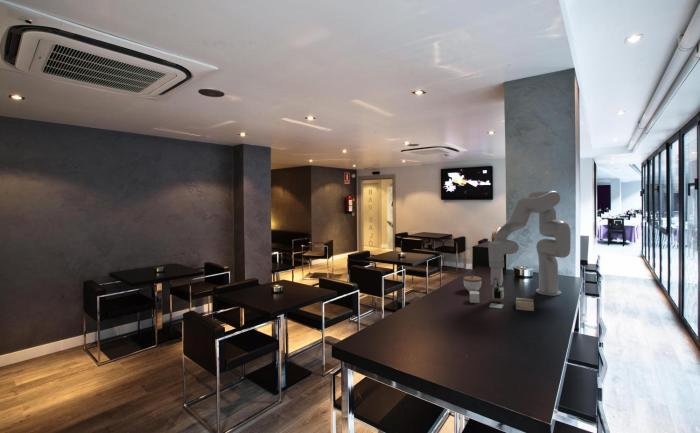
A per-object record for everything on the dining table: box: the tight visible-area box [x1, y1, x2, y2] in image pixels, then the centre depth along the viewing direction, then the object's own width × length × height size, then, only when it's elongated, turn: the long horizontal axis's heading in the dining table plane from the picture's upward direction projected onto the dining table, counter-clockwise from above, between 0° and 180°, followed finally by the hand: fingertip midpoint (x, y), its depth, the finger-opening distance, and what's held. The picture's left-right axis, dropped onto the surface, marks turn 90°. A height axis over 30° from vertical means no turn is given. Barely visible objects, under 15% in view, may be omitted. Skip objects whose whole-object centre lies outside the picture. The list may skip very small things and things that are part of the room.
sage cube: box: [491, 286, 505, 300], centre depth 183 cm, size 5×5×5 cm
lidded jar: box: [462, 275, 482, 292], centre depth 206 cm, size 11×11×9 cm
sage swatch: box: [488, 302, 504, 310], centre depth 176 cm, size 6×6×1 cm
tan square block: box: [515, 297, 535, 312], centre depth 172 cm, size 8×8×4 cm
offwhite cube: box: [468, 290, 480, 304], centre depth 185 cm, size 5×5×5 cm
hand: (498, 296), depth 183 cm, fingers closed on sage cube, 5 cm apart
